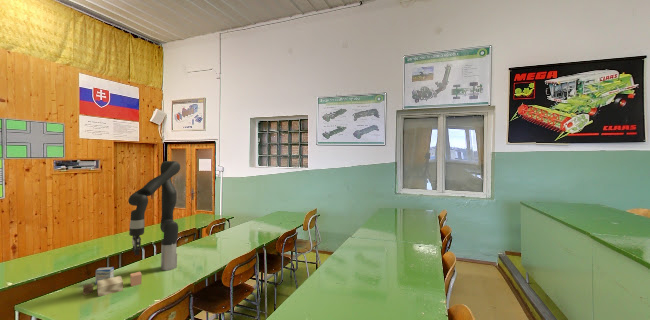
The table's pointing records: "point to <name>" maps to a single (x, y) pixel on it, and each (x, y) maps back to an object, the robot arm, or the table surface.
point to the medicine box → (104, 273)
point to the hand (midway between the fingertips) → (135, 253)
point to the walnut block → (87, 289)
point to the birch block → (109, 285)
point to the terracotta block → (135, 278)
